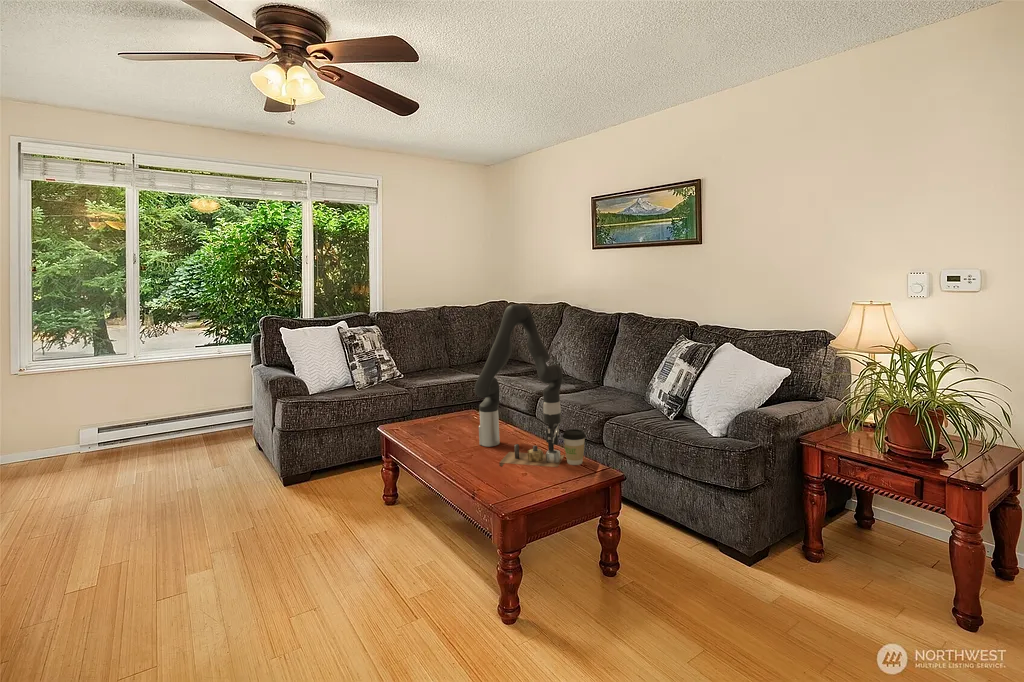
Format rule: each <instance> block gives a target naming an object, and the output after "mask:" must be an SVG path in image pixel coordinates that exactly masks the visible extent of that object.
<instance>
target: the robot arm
mask: <svg viewBox="0 0 1024 682" xmlns="http://www.w3.org/2000/svg"><path fill="white" fill-rule="evenodd" d="M516 326H522V327H523V328H524V330H525V332H526V336H527V337H526V338H527V340H526V341H527V349H528V351H529V354H530V356H531V357H532V359H533V361H534V365H535V368H536V372H537V376H538V379H539V380H540V381H541V382H542V383H543V384H548V386H546V387H545V388H543V391H542V398H543V401H542V402H543V403H542V404H543V406H542V408H543V409H542V410H543V412H542V413H543V423H544V424H547V425H548V426H547V428H546V429H545V433H546V434H545V436H546V439H545V440H546V444H547V445H548V447H547V448H548V450H549V451H554V450H555V445H557V446H558V445H559V437H558V436H559V434H560V423H561V422H562V407H561V399H560V398H561V397H560V389H561V386H562V382H563V376H564V375H563V370H562V368H561V367H560V365H558V364H552V365H547V362H549V361H550V359H551V356H550V354H549V351H548V350H547V348H546V346H545V344H544V343H543V341H542V338H541V336H540V335H539V332H538V327H537V325H536V322H535V320H534V317H533V314H532V312H531V310H530V307H529V306H528V305H526V304H511V305H508V306H507V307H506V308H505V310H504V311H503V315H502V319H501V322H500V325H499V329H498V332H497V334H496V337H495V340H494V341H493V345H492V347H491V349H490V351H489V355H488V357H487V359H486V361H485V364H484V366H483V368H482V370H481V372H480V374H479V375H478V378H477V380H476V381H475V384H474V393H475V395H476V396H477V397H478V398H481V399H483V401H482V402H481V403H480V404H479V405H478V409H479V410H478V411H479V425H478V438H479V439H478V441H479V444H478V445H479V446H482V447H488V448H489V447H496V446H498V445H500V441H501V439H500V420H499V419H500V418H499V405H500V383H499V381H498V379H497V378H496V375H497V374H498V373H499V372H500V371H501V370H502V369H503V368H504V366H506V364H507V363H508V361H509V359H510V356H511V354H512V351H513V343H512V340H511V339H512V338H511V337H512V333H513V330H514V328H515V327H516Z"/></svg>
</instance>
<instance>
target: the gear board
mask: <svg viewBox="0 0 1024 682" xmlns="http://www.w3.org/2000/svg"><path fill="white" fill-rule="evenodd" d="M560 457H561V459H560V461H559V462H558V463H549V462H546V453H544V451H543V449H541V448H538V445H532V448H530V449H529V450H527V452H521V451H520V445H519V444H518V443H517V444H514V451H509V452H507V453H506V454H505V456H504V457H503V458H502V459H501V460H500V461H499V466H500V467H503V466H504V465H505V464H511V465H512V464H514V465H526V466H536V467H537V466H539V467H548V468H549V467H550V468H551V467H552V468H558V467H559V466H560V464H561V463H562V461H563V459H564V457H565V455H561V454H560Z"/></svg>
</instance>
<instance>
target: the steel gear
mask: <svg viewBox="0 0 1024 682" xmlns="http://www.w3.org/2000/svg"><path fill="white" fill-rule="evenodd" d="M545 454H546V462H549V463H558V462H559V461H560V459H561V457H560V455H561V450H558V449H554V451H549V449H548V450H546V452H545Z"/></svg>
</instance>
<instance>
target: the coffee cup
mask: <svg viewBox="0 0 1024 682" xmlns="http://www.w3.org/2000/svg"><path fill="white" fill-rule="evenodd" d="M562 438H563V441H564V444H563V446H564V451H565V459H566V463H567V464H568V465H569V466H578V465H582V464H583V460H584V451H585V438H587V437H586V433H585V431H584V430H582V429H578V428H571V429H566V430H564V432H563V434H562Z"/></svg>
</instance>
